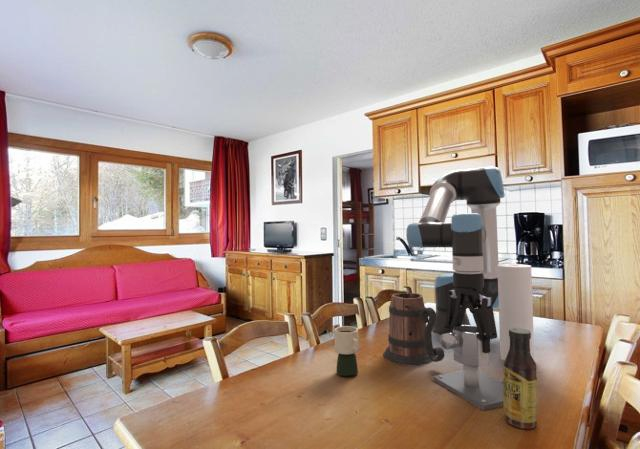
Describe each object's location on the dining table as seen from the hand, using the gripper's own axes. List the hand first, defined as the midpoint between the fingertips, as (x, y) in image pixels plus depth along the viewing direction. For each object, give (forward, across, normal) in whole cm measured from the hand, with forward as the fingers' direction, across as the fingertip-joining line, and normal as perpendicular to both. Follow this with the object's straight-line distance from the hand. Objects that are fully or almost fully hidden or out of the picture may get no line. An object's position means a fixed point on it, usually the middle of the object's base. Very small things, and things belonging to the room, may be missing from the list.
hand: (470, 358), depth 91 cm
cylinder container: (+8, -10, +28) cm, 31 cm away
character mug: (+8, -21, -26) cm, 34 cm away
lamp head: (0, 0, -2) cm, 2 cm away
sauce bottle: (+8, +17, -3) cm, 19 cm away
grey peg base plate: (+7, +1, +1) cm, 8 cm away
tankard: (+8, -23, -1) cm, 24 cm away
